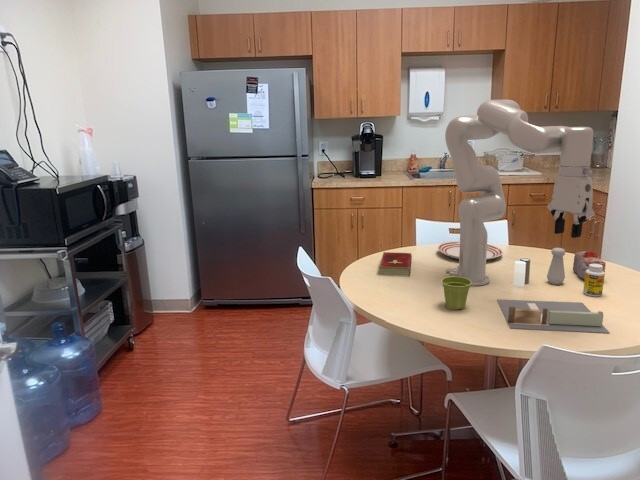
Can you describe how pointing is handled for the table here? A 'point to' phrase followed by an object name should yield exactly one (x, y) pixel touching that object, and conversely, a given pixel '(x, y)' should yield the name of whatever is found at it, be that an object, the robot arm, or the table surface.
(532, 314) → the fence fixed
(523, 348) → the table surface
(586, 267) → the food item
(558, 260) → the salt shaker
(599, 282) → the supplement bottle
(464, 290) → the plant pot
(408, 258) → the hardcover book
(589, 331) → the card
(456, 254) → the dinner plate
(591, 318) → the bar
